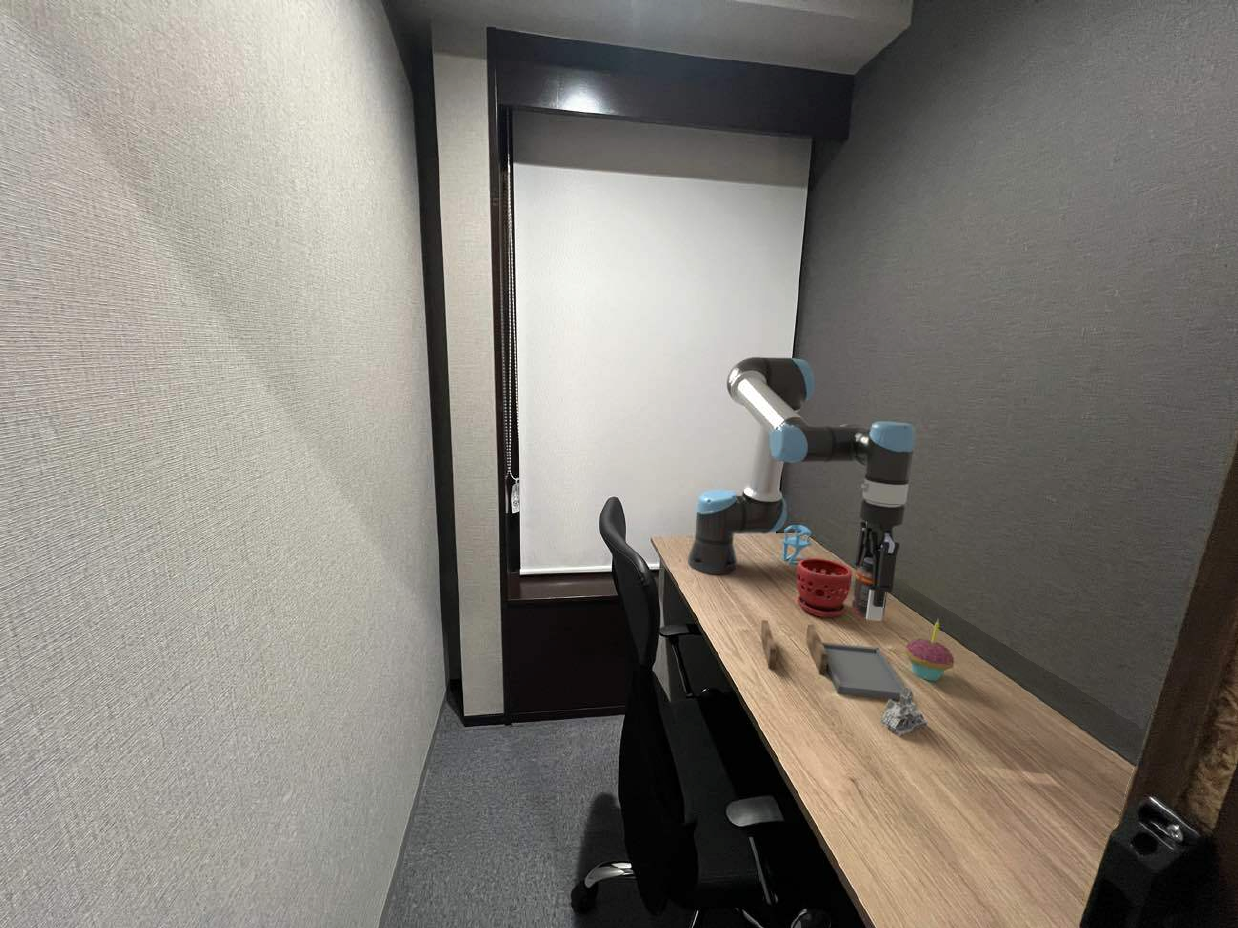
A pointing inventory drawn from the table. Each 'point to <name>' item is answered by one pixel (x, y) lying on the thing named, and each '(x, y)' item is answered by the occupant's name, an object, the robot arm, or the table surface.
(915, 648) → the cupcake
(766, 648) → the cradle
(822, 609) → the plant pot
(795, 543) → the chair
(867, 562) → the supplement bottle
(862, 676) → the tray
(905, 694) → the house of cards
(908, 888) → the table surface
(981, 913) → the table surface
